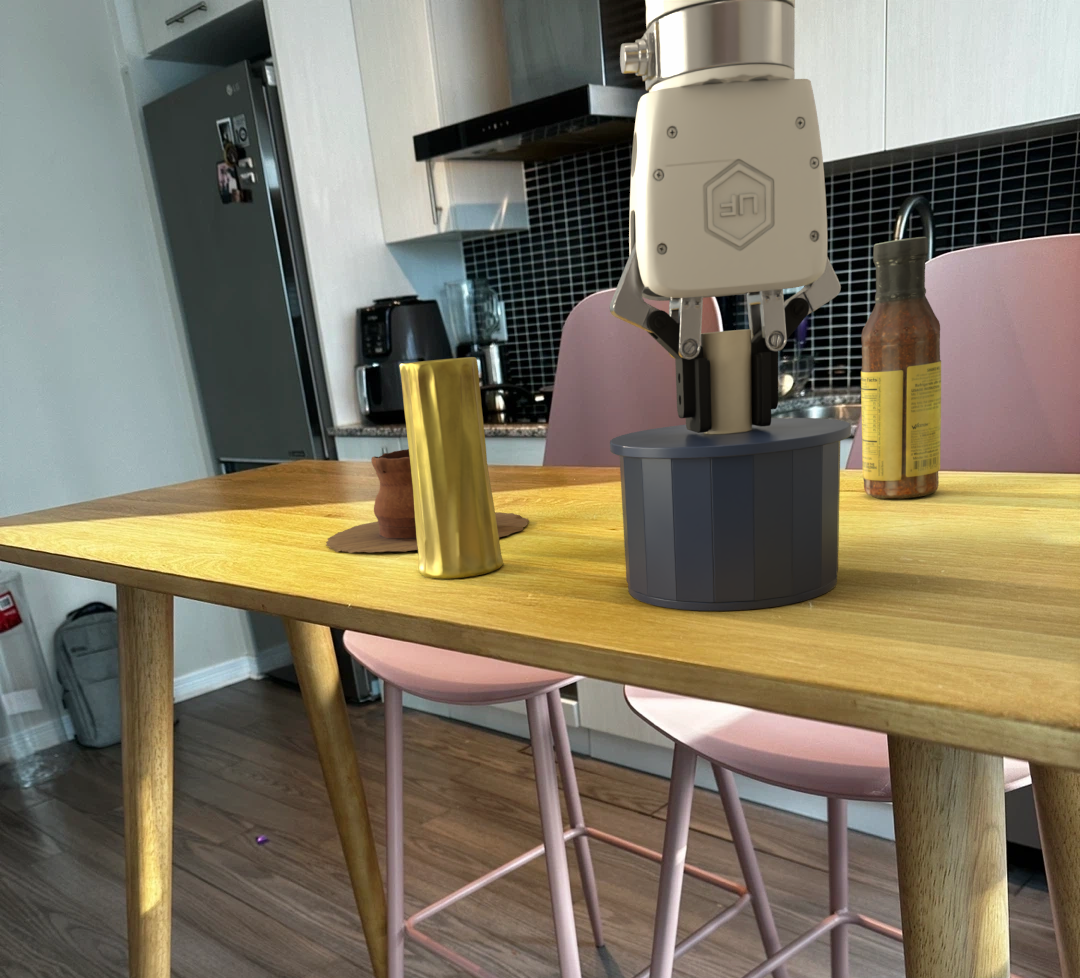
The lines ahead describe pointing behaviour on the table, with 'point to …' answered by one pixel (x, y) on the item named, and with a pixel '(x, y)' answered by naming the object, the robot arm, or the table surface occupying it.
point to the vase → (449, 469)
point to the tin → (732, 529)
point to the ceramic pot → (398, 512)
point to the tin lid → (730, 415)
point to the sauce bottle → (901, 377)
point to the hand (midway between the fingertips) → (727, 424)
